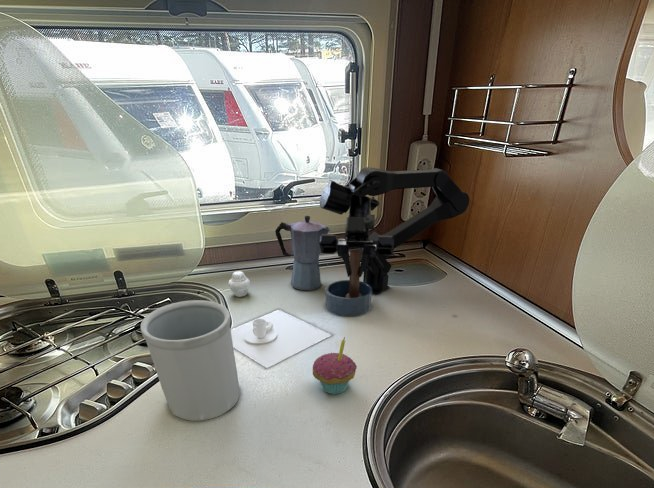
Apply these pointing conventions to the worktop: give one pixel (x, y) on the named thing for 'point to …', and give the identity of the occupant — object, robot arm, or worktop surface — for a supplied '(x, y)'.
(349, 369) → the cupcake
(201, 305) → the utensil holder
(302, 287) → the moka pot
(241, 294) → the white lidded jar
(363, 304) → the bowl
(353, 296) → the brown flanged peg
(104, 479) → the worktop surface
